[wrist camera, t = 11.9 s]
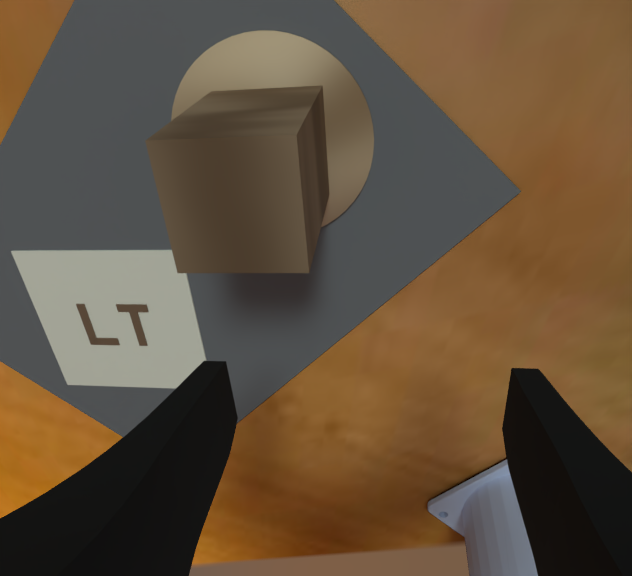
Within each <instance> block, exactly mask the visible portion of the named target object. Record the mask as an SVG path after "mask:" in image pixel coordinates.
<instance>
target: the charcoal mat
mask: <svg viewBox="0 0 632 576" xmlns="http://www.w3.org/2000/svg"><path fill="white" fill-rule="evenodd" d="M257 30H274V31H280V32H287V33H291V34H294V35H297V36H300V37H303V38H305V39H308V40H310V41H312V42H314V43H316V44H318V45H319V46H321V47H322V48H324V49H325V50H327V51H328V52H330V53H331V54H332V55H333V56H334V57H336V58H337V59H338V60H339V61H340V62H341V63H342V64H343V65H344V66H345V67H346V69H347V70H348V71H349V72H350V73H351V74H352V76H353V77H354V79H355V80H356V82H357V83H358V85H359V87H360V89H361V91H362V93H363V95H364V97H365V99H366V101H367V104H368V107H369V110H370V113H371V118H372V123H373V131H374V150H373V158H372V163H371V168H370V171H369V174H368V177H367V180H366V182H365V184H364V186H363V188H362V190H361V192H360V193H359V195H358V196H357V198H356V199H355V201H354V202H353V203H352V204H351V205H350V206H349V207H348V209H347V210H346V211H344V212H343V213H342V214H341V215H340V216H339V217H337V218H336V219H335V220H333V221H331V222H330V223H328V224H327V225H325V226H323V227H321V229H320V233H319V237H318V241H317V245H316V249H315V252H314V256H313V260H312V264H311V268H310V272H309V273H187V276H188V281H189V285H190V289H191V294H192V298H193V302H194V307H195V311H196V316H197V320H198V324H199V329H200V333H201V337H202V342H203V346H204V350H205V355H206V359H207V361H226V363H227V368H228V373H229V378H230V383H231V388H232V392H233V397H234V402H235V407H236V412H237V417H238V419H237V423H238V422H239V421H240V420H242V419H243V418H244V417H245V416H247V415H248V414H249V413H250V412H252V411H253V410H254V409H255V408H256V407H258V406H259V405H260V404H261V403H263V402H264V401H265V400H266V399H267V398H269V397H270V396H271V395H272V394H274V393H275V392H276V391H277V390H278V389H280V388H281V387H282V386H283V385H285V384H286V383H287V382H288V381H290V380H291V379H292V378H293V377H294V376H296V375H297V374H298V373H299V372H301V371H302V370H303V369H304V368H305V367H307V366H308V365H309V364H310V363H312V362H313V361H314V360H315V359H316V358H318V357H319V356H320V355H321V354H323V353H324V352H325V351H326V350H328V349H329V348H330V347H331V346H332V345H334V344H335V343H336V342H337V341H339V340H340V339H341V338H342V337H343V336H345V335H346V334H347V333H348V332H350V331H351V330H352V329H353V328H354V327H356V326H357V325H358V324H359V323H361V322H362V321H363V320H364V319H366V318H367V317H368V316H369V315H370V314H372V313H373V312H374V311H375V310H377V309H378V308H379V307H380V306H381V305H383V304H384V303H385V302H386V301H388V300H389V299H390V298H391V297H392V296H394V295H395V294H396V293H397V292H399V291H400V290H401V289H402V288H404V287H405V286H406V285H407V284H408V283H410V282H411V281H412V280H413V279H415V278H416V277H417V276H418V275H419V274H421V273H422V272H423V271H424V270H426V269H427V268H428V267H429V266H430V265H432V264H433V263H434V262H435V261H437V260H438V259H439V258H440V257H442V256H443V255H444V254H445V253H446V252H448V251H449V250H450V249H451V248H453V247H454V246H455V245H456V244H457V243H459V242H460V241H461V240H462V239H464V238H465V237H466V236H467V235H468V234H470V233H471V232H472V231H473V230H475V229H476V228H477V227H478V226H480V225H481V224H482V223H483V222H484V221H486V220H487V219H488V218H489V217H491V216H492V215H493V214H494V213H495V212H497V211H498V210H499V209H500V208H502V207H503V206H504V205H505V204H506V203H508V202H509V201H510V200H511V199H513V198H514V197H515V196H516V195H518V194H519V193H520V192H521V191H520V190H519V189H518V188H517V187H516V186H515V185H514V184H513V183H512V182H511V181H510V180H509V179H508V178H507V177H506V176H505V174H504V173H503V172H502V171H501V170H500V169H499V168H498V167H497V166H496V165H495V164H494V163H493V162H492V161H491V160H490V159H489V158H488V157H487V156H486V155H485V154H484V153H483V152H482V151H481V150H480V149H479V148H478V147H477V146H476V145H475V144H474V143H473V142H472V141H471V140H470V139H469V138H468V137H467V136H466V135H465V134H464V133H463V132H462V131H461V130H460V129H459V128H458V127H457V126H456V124H455V123H454V122H453V121H452V120H451V119H450V118H449V117H448V116H447V115H446V114H445V113H444V112H443V111H442V110H441V109H440V108H439V107H438V106H437V105H436V104H435V103H434V102H433V101H432V100H431V99H430V98H429V97H428V96H427V95H426V94H425V93H424V92H423V91H422V90H421V89H420V88H419V87H418V86H417V85H416V84H415V83H414V82H413V81H412V80H411V79H410V78H409V77H408V76H407V74H406V73H405V72H404V71H403V70H402V69H401V68H400V67H399V66H398V65H397V64H396V63H395V62H394V61H393V60H392V59H391V58H390V57H389V56H388V55H387V54H386V53H385V52H384V51H383V50H382V49H381V48H380V47H379V46H378V45H377V44H376V43H375V42H374V41H373V40H372V39H371V38H370V37H369V36H368V35H367V34H366V33H365V32H364V31H363V30H362V29H361V28H360V27H359V25H358V24H357V23H356V22H355V21H354V20H353V19H352V18H351V17H350V16H349V15H348V14H347V13H346V12H345V11H344V10H343V9H342V8H341V7H340V6H339V5H338V4H337V3H336V2H335V1H334V0H74V2H73V4H72V6H71V8H70V10H69V12H68V14H67V16H66V18H65V20H64V22H63V24H62V26H61V28H60V30H59V32H58V34H57V36H56V38H55V40H54V41H53V43H52V45H51V47H50V49H49V51H48V53H47V55H46V57H45V59H44V61H43V63H42V65H41V67H40V69H39V71H38V73H37V75H36V77H35V79H34V81H33V83H32V84H31V86H30V88H29V90H28V92H27V94H26V96H25V98H24V100H23V102H22V104H21V106H20V108H19V110H18V112H17V114H16V116H15V118H14V120H13V122H12V124H11V126H10V128H9V129H8V131H7V133H6V135H5V137H4V139H3V141H2V143H1V145H0V361H1V362H3V363H4V364H6V365H7V366H9V367H11V368H12V369H14V370H16V371H17V372H19V373H20V374H22V375H24V376H25V377H27V378H29V379H30V380H32V381H33V382H35V383H37V384H38V385H40V386H41V387H43V388H45V389H46V390H48V391H50V392H51V393H53V394H54V395H56V396H58V397H59V398H61V399H62V400H64V401H66V402H67V403H69V404H71V405H72V406H74V407H75V408H77V409H79V410H80V411H82V412H84V413H85V414H87V415H88V416H90V417H92V418H93V419H95V420H96V421H98V422H100V423H101V424H103V425H105V426H106V427H108V428H109V429H111V430H113V431H114V432H116V433H117V434H119V435H121V436H122V437H124V436H125V435H127V434H128V433H129V432H130V431H131V430H132V429H133V428H135V427H136V426H137V425H138V424H139V423H140V422H141V421H142V420H144V419H145V418H146V417H147V416H148V415H149V414H150V413H151V412H152V411H153V410H154V409H155V408H156V407H158V406H159V405H160V404H161V403H162V402H163V401H164V400H165V399H166V398H167V397H168V396H169V395H170V394H171V393H172V392H173V391H174V390H175V388H145V387H115V386H85V385H67V383H66V380H65V378H64V376H63V373H62V371H61V368H60V366H59V364H58V361H57V359H56V357H55V354H54V352H53V350H52V347H51V345H50V342H49V340H48V338H47V335H46V333H45V331H44V328H43V326H42V324H41V321H40V319H39V317H38V314H37V312H36V309H35V307H34V305H33V302H32V300H31V298H30V295H29V293H28V291H27V288H26V286H25V283H24V281H23V279H22V276H21V274H20V272H19V269H18V267H17V265H16V262H15V260H14V257H13V255H12V253H11V251H36V250H172V249H171V245H170V241H169V236H168V232H167V228H166V224H165V220H164V216H163V212H162V208H161V204H160V200H159V195H158V191H157V187H156V183H155V179H154V175H153V171H152V167H151V163H150V159H149V155H148V150H147V146H146V142H145V140H147V139H148V138H149V137H151V136H152V135H153V134H155V133H156V132H157V131H159V130H160V129H161V128H163V127H164V126H165V125H167V124H168V123H169V122H171V117H172V107H173V103H174V99H175V95H176V93H177V90H178V88H179V85H180V83H181V81H182V79H183V77H184V76H185V74H186V72H187V70H188V69H189V68H190V67H191V65H192V64H193V63H194V62H195V60H196V59H197V58H198V57H200V56H201V55H202V54H203V53H204V52H205V51H206V50H208V49H209V48H211V47H212V46H213V45H215V44H216V43H218V42H220V41H222V40H224V39H227V38H229V37H231V36H234V35H237V34H241V33H244V32H250V31H257Z"/></svg>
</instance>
